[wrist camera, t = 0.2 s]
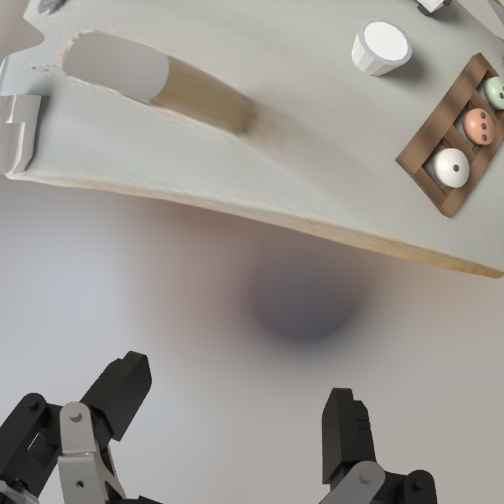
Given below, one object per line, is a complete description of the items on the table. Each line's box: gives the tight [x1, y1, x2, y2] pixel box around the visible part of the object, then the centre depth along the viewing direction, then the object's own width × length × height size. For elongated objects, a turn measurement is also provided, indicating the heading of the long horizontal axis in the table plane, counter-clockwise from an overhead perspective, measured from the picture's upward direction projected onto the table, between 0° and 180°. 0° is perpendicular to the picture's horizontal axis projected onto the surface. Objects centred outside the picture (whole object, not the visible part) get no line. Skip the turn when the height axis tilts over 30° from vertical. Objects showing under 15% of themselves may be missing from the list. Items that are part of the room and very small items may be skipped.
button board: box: [395, 53, 504, 218], centre depth 27 cm, size 26×11×2 cm, turn 142°
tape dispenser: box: [0, 94, 42, 174], centre depth 32 cm, size 16×10×13 cm, turn 167°
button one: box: [433, 148, 469, 188], centre depth 27 cm, size 5×5×2 cm
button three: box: [462, 108, 495, 145], centre depth 24 cm, size 5×5×2 cm
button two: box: [484, 77, 504, 110], centre depth 21 cm, size 5×5×2 cm
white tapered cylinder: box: [352, 17, 412, 76], centre depth 24 cm, size 7×7×7 cm
